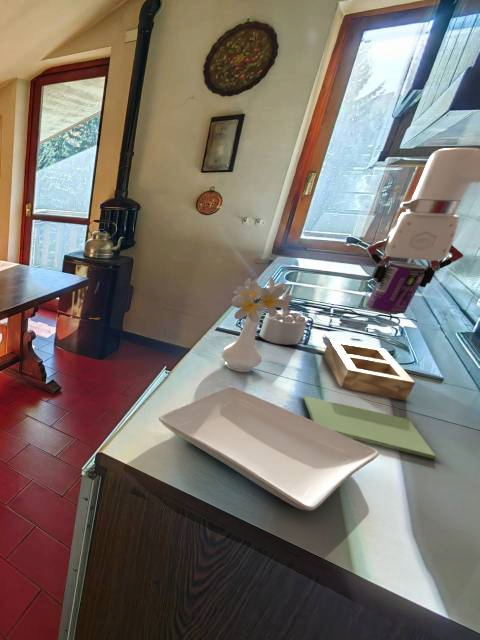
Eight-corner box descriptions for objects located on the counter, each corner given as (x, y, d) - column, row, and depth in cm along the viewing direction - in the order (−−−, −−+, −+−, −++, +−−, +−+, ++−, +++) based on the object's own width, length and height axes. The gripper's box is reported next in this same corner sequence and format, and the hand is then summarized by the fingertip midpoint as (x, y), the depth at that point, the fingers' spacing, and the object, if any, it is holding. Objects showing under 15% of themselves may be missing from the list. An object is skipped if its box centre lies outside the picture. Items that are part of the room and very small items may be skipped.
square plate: (152, 431, 82) (156, 415, 80) (226, 397, 94) (230, 383, 93) (304, 526, 60) (313, 507, 59) (374, 466, 72) (383, 449, 71)
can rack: (377, 364, 111) (384, 348, 109) (405, 400, 93) (415, 382, 91) (323, 354, 116) (329, 339, 114) (340, 387, 99) (348, 369, 97)
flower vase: (205, 373, 105) (231, 284, 95) (218, 351, 118) (241, 270, 108) (264, 389, 98) (298, 294, 88) (270, 363, 111) (300, 278, 101)
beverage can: (404, 318, 94) (430, 269, 89) (364, 310, 98) (387, 263, 93) (402, 311, 99) (427, 265, 94) (364, 304, 103) (386, 259, 98)
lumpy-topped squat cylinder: (304, 337, 128) (313, 313, 125) (291, 347, 121) (300, 322, 117) (267, 328, 136) (275, 304, 132) (253, 337, 128) (261, 312, 125)
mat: (407, 422, 85) (408, 419, 85) (434, 459, 74) (436, 456, 74) (303, 398, 94) (304, 395, 94) (314, 428, 83) (315, 425, 83)
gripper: (384, 207, 90) (354, 282, 97) (498, 211, 81) (456, 292, 88) (375, 205, 96) (347, 275, 103) (480, 208, 87) (442, 285, 94)
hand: (398, 283), depth 96 cm, fingers closed on beverage can, 7 cm apart
